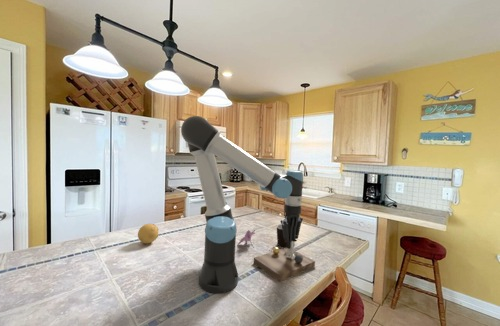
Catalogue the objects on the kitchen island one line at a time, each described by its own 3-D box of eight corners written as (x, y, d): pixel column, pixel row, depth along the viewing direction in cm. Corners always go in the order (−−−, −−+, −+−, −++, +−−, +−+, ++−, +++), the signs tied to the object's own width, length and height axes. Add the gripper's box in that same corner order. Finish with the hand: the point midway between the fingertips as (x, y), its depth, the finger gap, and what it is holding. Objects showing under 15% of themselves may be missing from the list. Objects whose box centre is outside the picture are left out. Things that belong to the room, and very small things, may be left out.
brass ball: (275, 256, 99) (276, 249, 98) (270, 253, 101) (271, 246, 101) (281, 255, 101) (281, 248, 101) (276, 252, 103) (276, 245, 103)
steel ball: (294, 264, 98) (291, 260, 97) (289, 261, 101) (286, 257, 100) (298, 258, 100) (295, 254, 99) (293, 255, 103) (290, 251, 101)
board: (280, 282, 83) (280, 275, 83) (253, 263, 97) (253, 257, 97) (314, 266, 97) (315, 261, 96) (286, 251, 110) (287, 247, 110)
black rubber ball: (298, 265, 92) (299, 258, 92) (292, 262, 94) (293, 254, 94) (303, 263, 94) (304, 256, 94) (297, 260, 96) (298, 253, 96)
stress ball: (135, 247, 108) (143, 239, 103) (133, 229, 113) (142, 220, 108) (154, 245, 115) (163, 237, 111) (152, 228, 120) (160, 220, 116)
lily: (257, 243, 121) (251, 227, 123) (265, 243, 111) (258, 225, 113) (239, 252, 116) (232, 235, 118) (245, 253, 106) (238, 235, 108)
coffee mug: (279, 248, 113) (280, 230, 113) (273, 242, 122) (274, 224, 121) (298, 247, 116) (300, 229, 116) (291, 240, 125) (292, 224, 124)
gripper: (289, 207, 91) (286, 261, 92) (308, 204, 99) (305, 254, 100) (277, 203, 97) (274, 254, 98) (296, 201, 105) (293, 248, 106)
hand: (289, 254), depth 99 cm, fingers closed
